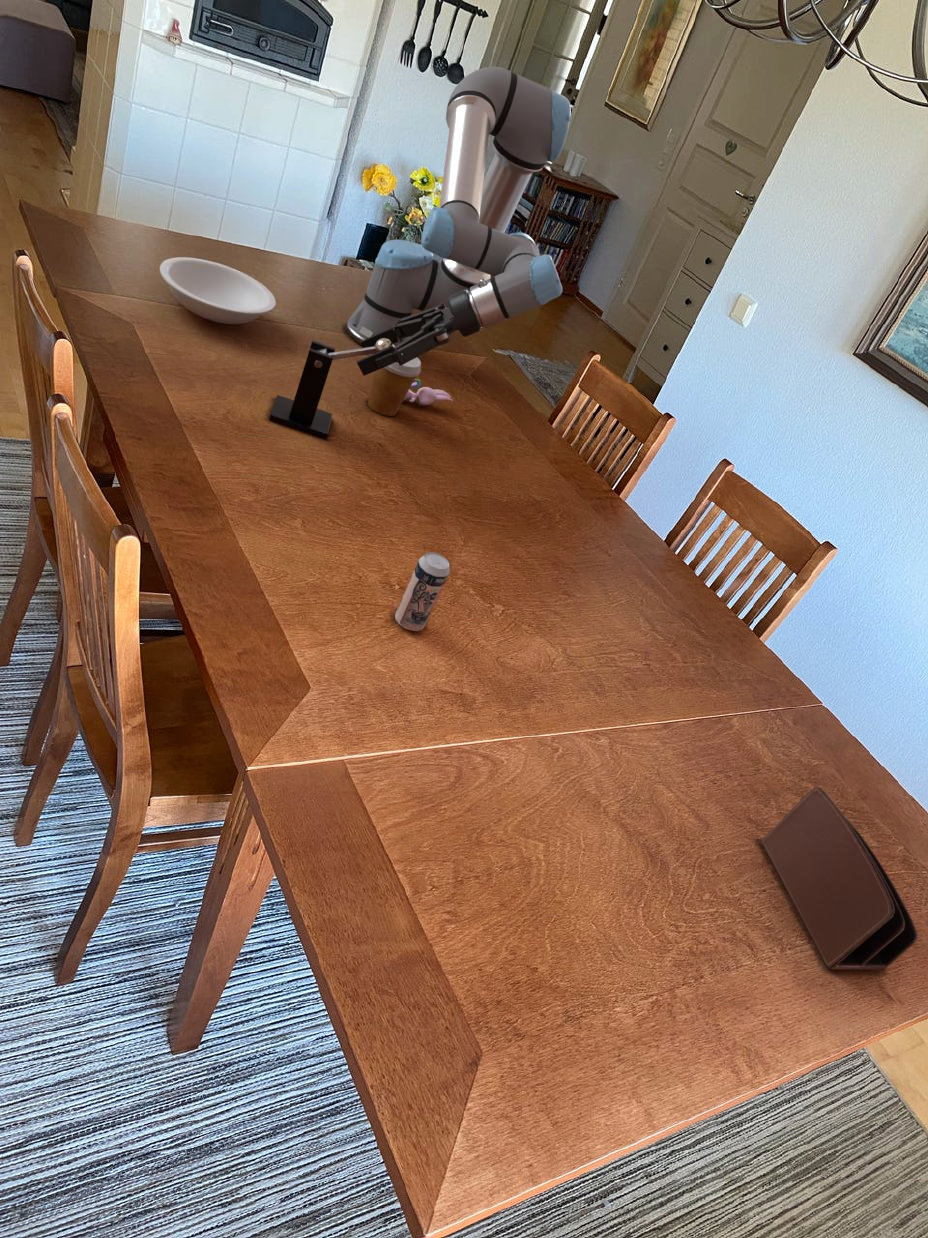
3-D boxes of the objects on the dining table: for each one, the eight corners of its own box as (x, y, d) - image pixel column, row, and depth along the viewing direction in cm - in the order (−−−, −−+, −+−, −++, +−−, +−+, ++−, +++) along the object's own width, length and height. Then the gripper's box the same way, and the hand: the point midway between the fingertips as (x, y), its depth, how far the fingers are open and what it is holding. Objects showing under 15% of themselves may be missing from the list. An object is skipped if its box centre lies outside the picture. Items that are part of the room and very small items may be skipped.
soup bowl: (284, 323, 208) (292, 296, 204) (240, 353, 188) (247, 323, 184) (187, 276, 207) (193, 248, 203) (132, 301, 187) (137, 270, 183)
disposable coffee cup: (406, 407, 198) (426, 357, 191) (399, 425, 190) (419, 373, 184) (365, 390, 197) (383, 339, 190) (356, 407, 189) (374, 354, 182)
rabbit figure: (388, 409, 197) (454, 413, 203) (393, 384, 194) (460, 388, 199) (382, 395, 202) (446, 398, 207) (386, 370, 198) (452, 374, 203)
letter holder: (827, 971, 117) (897, 908, 110) (758, 841, 132) (816, 778, 124) (884, 971, 121) (956, 910, 113) (811, 845, 136) (870, 784, 128)
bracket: (330, 418, 181) (353, 350, 173) (326, 439, 174) (349, 369, 166) (275, 399, 178) (296, 329, 170) (268, 420, 171) (289, 347, 163)
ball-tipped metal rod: (396, 352, 170) (392, 333, 168) (395, 360, 167) (391, 341, 165) (315, 364, 171) (311, 346, 169) (313, 372, 169) (308, 353, 166)
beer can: (401, 633, 137) (429, 571, 131) (389, 612, 140) (416, 550, 133) (428, 632, 140) (457, 571, 133) (416, 612, 143) (444, 551, 136)
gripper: (466, 269, 170) (357, 318, 176) (468, 310, 153) (347, 363, 158) (481, 307, 175) (374, 353, 180) (486, 350, 157) (367, 400, 162)
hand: (362, 358), depth 169 cm, fingers open, 9 cm apart
